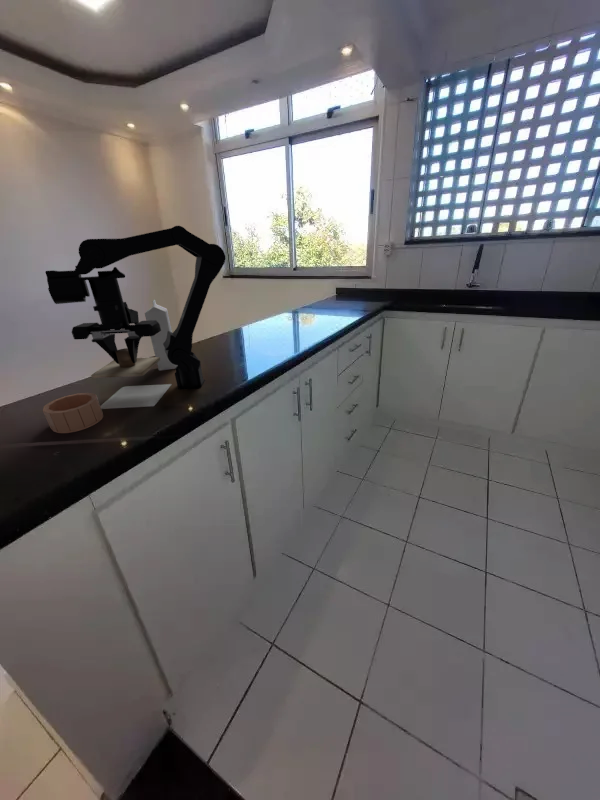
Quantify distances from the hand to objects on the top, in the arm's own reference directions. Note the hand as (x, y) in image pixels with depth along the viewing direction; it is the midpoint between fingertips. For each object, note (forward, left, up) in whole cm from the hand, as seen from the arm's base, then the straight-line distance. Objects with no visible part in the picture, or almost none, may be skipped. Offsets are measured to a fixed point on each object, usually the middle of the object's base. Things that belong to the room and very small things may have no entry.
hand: (127, 363), depth 79 cm
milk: (-1, -23, -10) cm, 25 cm away
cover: (0, 0, -1) cm, 1 cm away
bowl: (+8, +13, -10) cm, 18 cm away
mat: (0, 0, -10) cm, 10 cm away
